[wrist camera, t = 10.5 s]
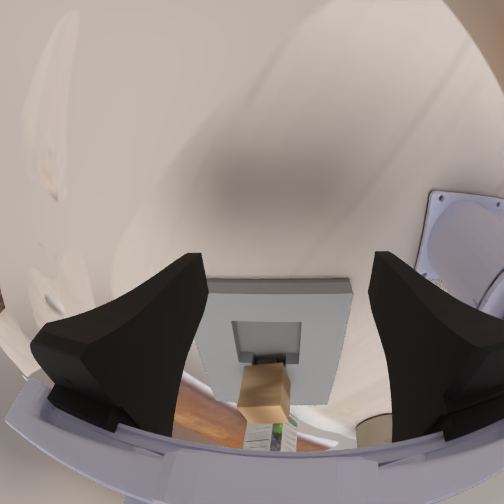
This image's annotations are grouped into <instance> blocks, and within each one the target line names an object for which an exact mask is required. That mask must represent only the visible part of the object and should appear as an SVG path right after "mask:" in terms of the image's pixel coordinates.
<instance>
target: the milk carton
mask: <svg viewBox="0 0 504 504" xmlns="http://www.w3.org/2000/svg"><path fill="white" fill-rule="evenodd" d="M4 308H5V305H4V302H3V298H2V294H1V290H0V313H1V312H2V310H3V309H4Z"/></svg>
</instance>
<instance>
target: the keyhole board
mask: <svg viewBox="0 0 504 504" xmlns="http://www.w3.org/2000/svg"><path fill="white" fill-rule="evenodd" d="M206 280H207V285H208V290H209V294H208V299H207V303H206V307H205V311H204V314H203V317H202V319H201V322H200V324H199V327H198V329H197V332H196V334H195V337H194V340H195V343H196V346H197V349H198V352H199V355H200V358H201V361H202V364H203V366H204V369H205V372H206V375H207V378H208V380H209V383H210V386H211V388H212V391H213V394H214V396H215V399H216V401H225V402H236V403H238V399H239V394H240V388H241V383H242V377H243V372H244V366H250V365H256V363H257V359H265V358H275V357H277V358H278V361H279V363H282V362H283V364H284V366H285V369H286V372H287V374H288V377H289V380H290V382H291V389H290V405H327V403H328V400H329V396H330V393H331V389H332V386H333V382H334V378H335V375H336V371H337V367H338V363H339V359H340V355H341V351H342V346H343V342H344V338H345V333H346V328H347V324H348V319H349V313H350V308H351V303H352V297H353V291H352V287H351V284H350V280H349V279H206Z"/></svg>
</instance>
